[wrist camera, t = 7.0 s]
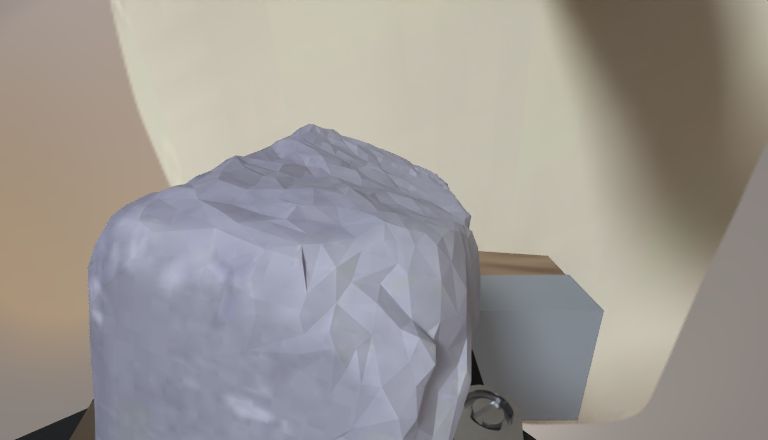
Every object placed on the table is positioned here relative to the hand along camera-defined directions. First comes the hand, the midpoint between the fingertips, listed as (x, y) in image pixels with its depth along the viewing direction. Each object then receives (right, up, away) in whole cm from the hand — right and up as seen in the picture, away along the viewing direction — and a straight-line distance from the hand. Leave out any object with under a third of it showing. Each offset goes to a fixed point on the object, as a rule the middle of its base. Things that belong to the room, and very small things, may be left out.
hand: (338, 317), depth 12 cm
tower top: (+10, -5, +17) cm, 20 cm away
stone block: (0, +1, +2) cm, 3 cm away
